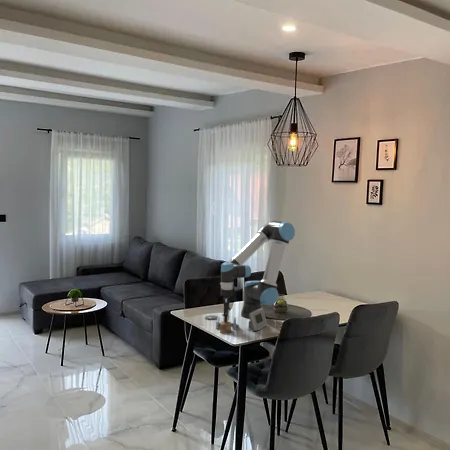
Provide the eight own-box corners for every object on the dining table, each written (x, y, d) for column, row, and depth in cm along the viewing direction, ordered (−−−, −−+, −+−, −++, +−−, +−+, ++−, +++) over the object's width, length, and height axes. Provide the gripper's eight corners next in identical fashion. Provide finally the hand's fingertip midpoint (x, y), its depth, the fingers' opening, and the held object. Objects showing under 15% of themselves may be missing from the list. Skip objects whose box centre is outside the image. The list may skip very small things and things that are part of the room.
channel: (235, 323, 283) (236, 317, 283) (235, 329, 271) (235, 322, 271) (217, 323, 284) (217, 316, 283) (216, 328, 272) (216, 322, 271)
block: (231, 330, 270) (231, 321, 270) (230, 333, 264) (230, 324, 264) (220, 329, 270) (221, 321, 270) (220, 332, 264) (220, 324, 264)
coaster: (219, 316, 299) (219, 315, 299) (218, 320, 290) (218, 319, 290) (205, 316, 299) (205, 315, 299) (204, 319, 291) (204, 318, 290)
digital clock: (255, 332, 266) (255, 314, 265) (243, 329, 272) (243, 311, 271) (271, 327, 278) (272, 309, 277) (259, 323, 284) (260, 307, 283)
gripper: (222, 284, 288) (221, 317, 290) (219, 292, 264) (218, 329, 265) (233, 284, 288) (233, 318, 289) (232, 293, 263) (231, 329, 265)
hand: (226, 323), depth 277 cm, fingers open, 13 cm apart
